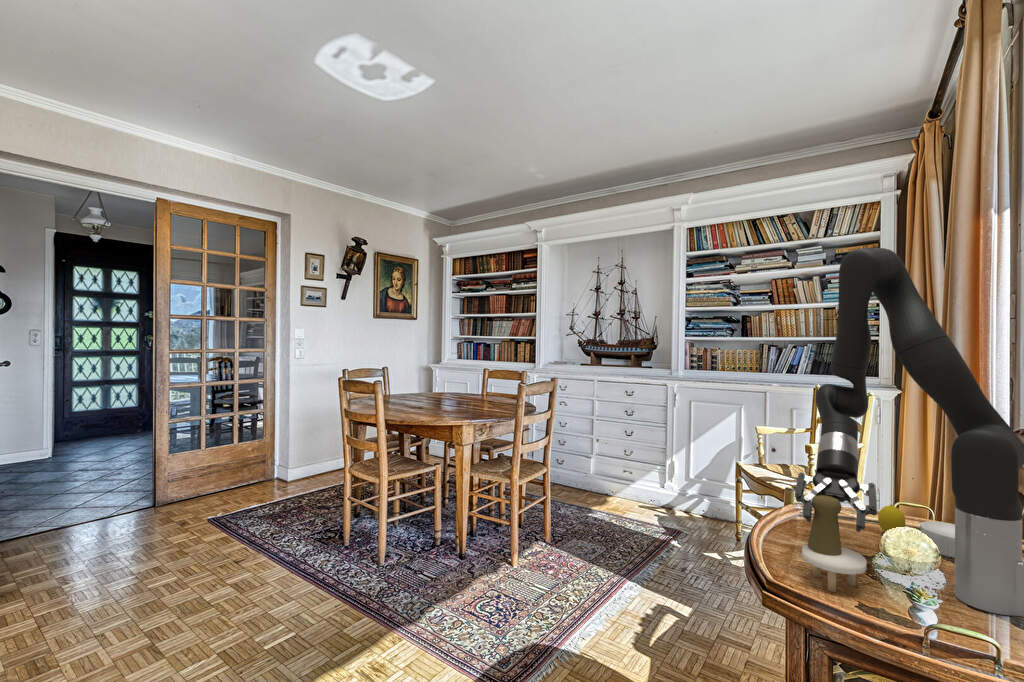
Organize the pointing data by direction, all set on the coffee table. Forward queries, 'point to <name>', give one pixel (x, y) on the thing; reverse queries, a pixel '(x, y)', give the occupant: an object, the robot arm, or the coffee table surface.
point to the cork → (825, 526)
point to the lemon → (891, 518)
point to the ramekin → (941, 536)
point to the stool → (835, 565)
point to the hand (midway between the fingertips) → (832, 525)
